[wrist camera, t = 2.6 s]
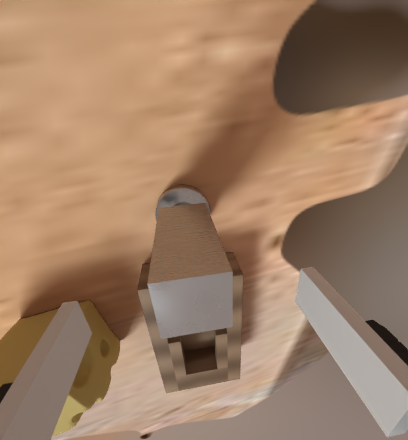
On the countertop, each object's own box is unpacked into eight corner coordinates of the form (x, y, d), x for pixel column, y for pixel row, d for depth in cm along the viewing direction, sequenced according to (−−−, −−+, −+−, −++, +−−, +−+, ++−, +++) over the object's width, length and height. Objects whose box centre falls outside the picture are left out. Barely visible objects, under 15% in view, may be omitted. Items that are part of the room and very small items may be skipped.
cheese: (122, 340, 32) (104, 424, 24) (56, 359, 32) (11, 451, 23) (91, 295, 28) (53, 378, 19) (13, 316, 27) (-64, 411, 19)
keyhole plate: (142, 264, 26) (137, 290, 22) (232, 252, 28) (243, 274, 24) (166, 363, 36) (166, 393, 32) (232, 351, 37) (240, 378, 33)
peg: (152, 187, 22) (127, 274, 10) (206, 182, 23) (247, 257, 10) (161, 234, 25) (149, 349, 13) (209, 229, 26) (244, 333, 13)
